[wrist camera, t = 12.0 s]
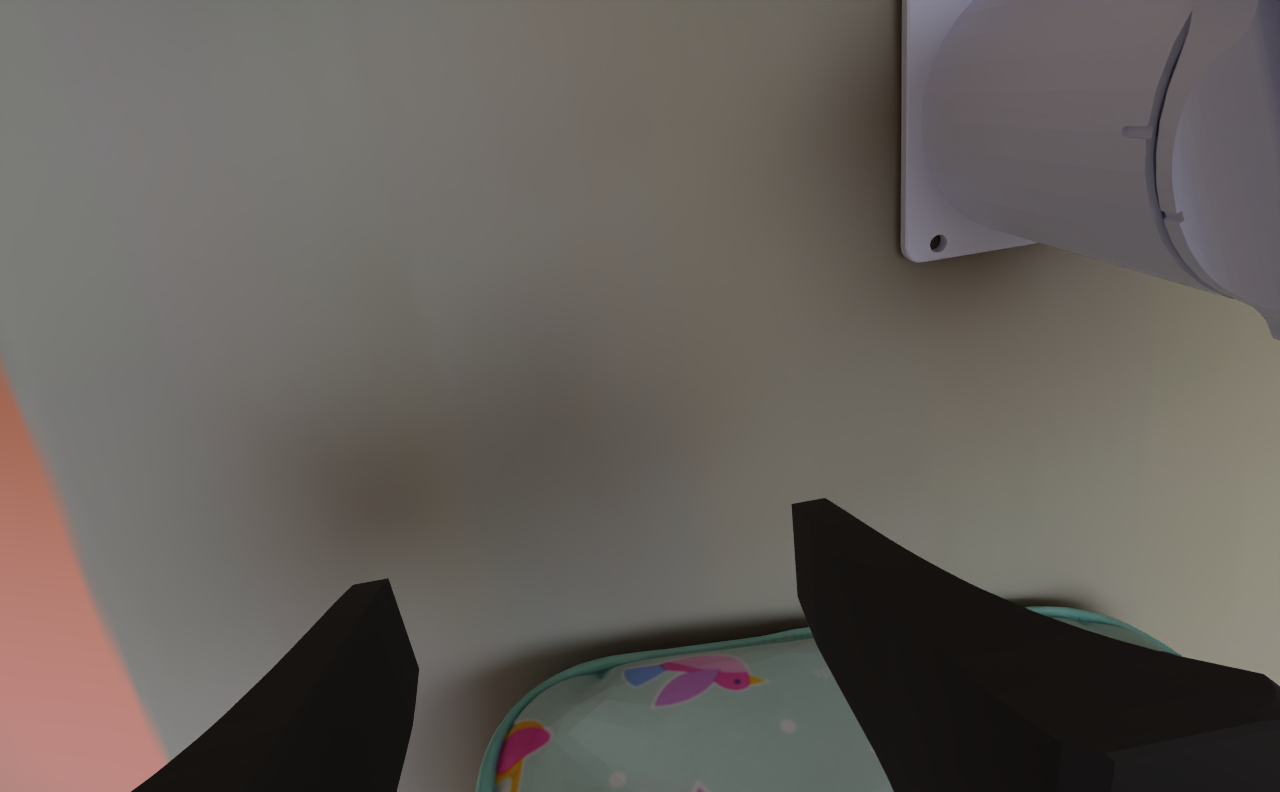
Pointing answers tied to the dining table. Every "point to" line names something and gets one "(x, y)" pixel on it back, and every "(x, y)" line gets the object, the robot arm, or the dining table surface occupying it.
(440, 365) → the dining table surface
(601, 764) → the lunch box
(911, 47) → the robot arm
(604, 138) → the dining table surface
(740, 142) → the dining table surface
